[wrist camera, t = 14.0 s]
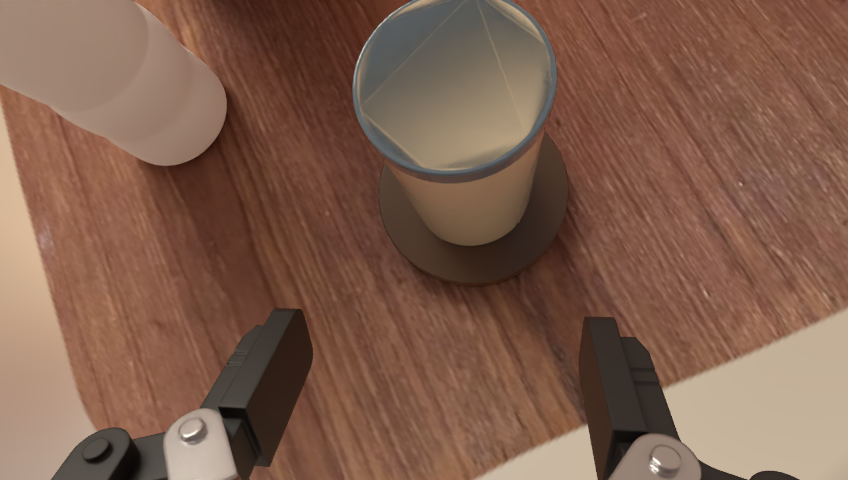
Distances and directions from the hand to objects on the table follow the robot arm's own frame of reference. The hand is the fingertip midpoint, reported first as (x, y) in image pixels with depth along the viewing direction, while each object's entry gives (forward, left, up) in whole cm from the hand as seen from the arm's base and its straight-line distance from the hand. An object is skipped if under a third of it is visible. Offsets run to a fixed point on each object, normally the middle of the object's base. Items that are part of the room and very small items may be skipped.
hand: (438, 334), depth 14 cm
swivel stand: (+6, +5, -12) cm, 14 cm away
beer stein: (+7, +6, -11) cm, 14 cm away
